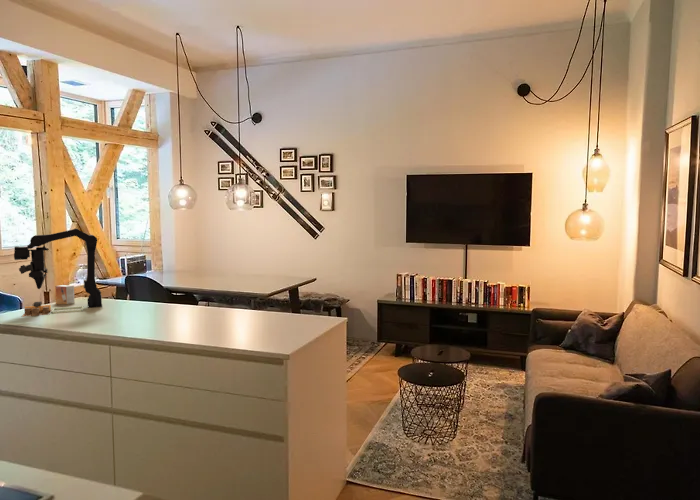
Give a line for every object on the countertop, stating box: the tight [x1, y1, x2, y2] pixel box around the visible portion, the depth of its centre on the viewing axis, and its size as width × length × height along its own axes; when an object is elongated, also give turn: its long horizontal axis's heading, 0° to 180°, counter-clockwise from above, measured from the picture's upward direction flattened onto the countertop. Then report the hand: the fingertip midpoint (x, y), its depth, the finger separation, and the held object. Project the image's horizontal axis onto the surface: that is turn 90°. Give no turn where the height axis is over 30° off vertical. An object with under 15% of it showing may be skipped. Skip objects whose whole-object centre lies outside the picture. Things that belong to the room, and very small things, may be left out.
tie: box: [32, 301, 43, 307], centre depth 257 cm, size 3×7×2 cm, turn 24°
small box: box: [54, 284, 76, 305], centre depth 285 cm, size 8×6×10 cm
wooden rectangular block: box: [24, 304, 52, 313], centre depth 258 cm, size 11×4×4 cm, turn 114°
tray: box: [50, 305, 85, 314], centre depth 264 cm, size 14×10×1 cm
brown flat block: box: [21, 304, 53, 317], centre depth 257 cm, size 12×14×4 cm
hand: (39, 288), depth 264 cm, fingers open, 3 cm apart
